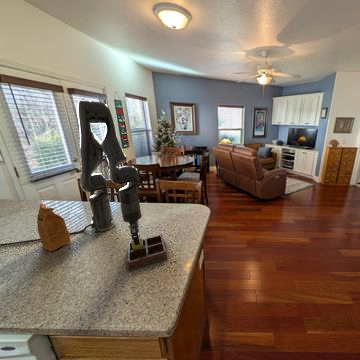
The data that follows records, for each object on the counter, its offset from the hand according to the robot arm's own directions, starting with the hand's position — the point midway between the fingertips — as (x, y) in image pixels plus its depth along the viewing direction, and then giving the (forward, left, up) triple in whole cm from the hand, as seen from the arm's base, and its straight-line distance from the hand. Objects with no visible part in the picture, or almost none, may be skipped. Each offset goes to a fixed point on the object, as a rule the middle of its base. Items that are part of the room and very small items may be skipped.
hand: (136, 241), depth 90 cm
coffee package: (-37, +27, -7) cm, 46 cm away
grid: (+4, -4, -6) cm, 8 cm away
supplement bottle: (0, 0, -5) cm, 5 cm away
